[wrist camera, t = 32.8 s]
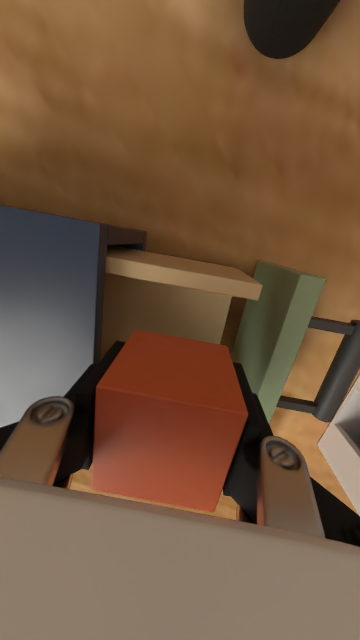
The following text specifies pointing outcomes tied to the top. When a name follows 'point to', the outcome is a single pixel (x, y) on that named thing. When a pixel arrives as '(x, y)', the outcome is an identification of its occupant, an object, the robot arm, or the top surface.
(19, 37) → the top surface
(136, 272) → the drawer
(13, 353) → the cabinet
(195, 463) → the block
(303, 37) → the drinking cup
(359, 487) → the red-lidded white box
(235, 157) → the top surface
